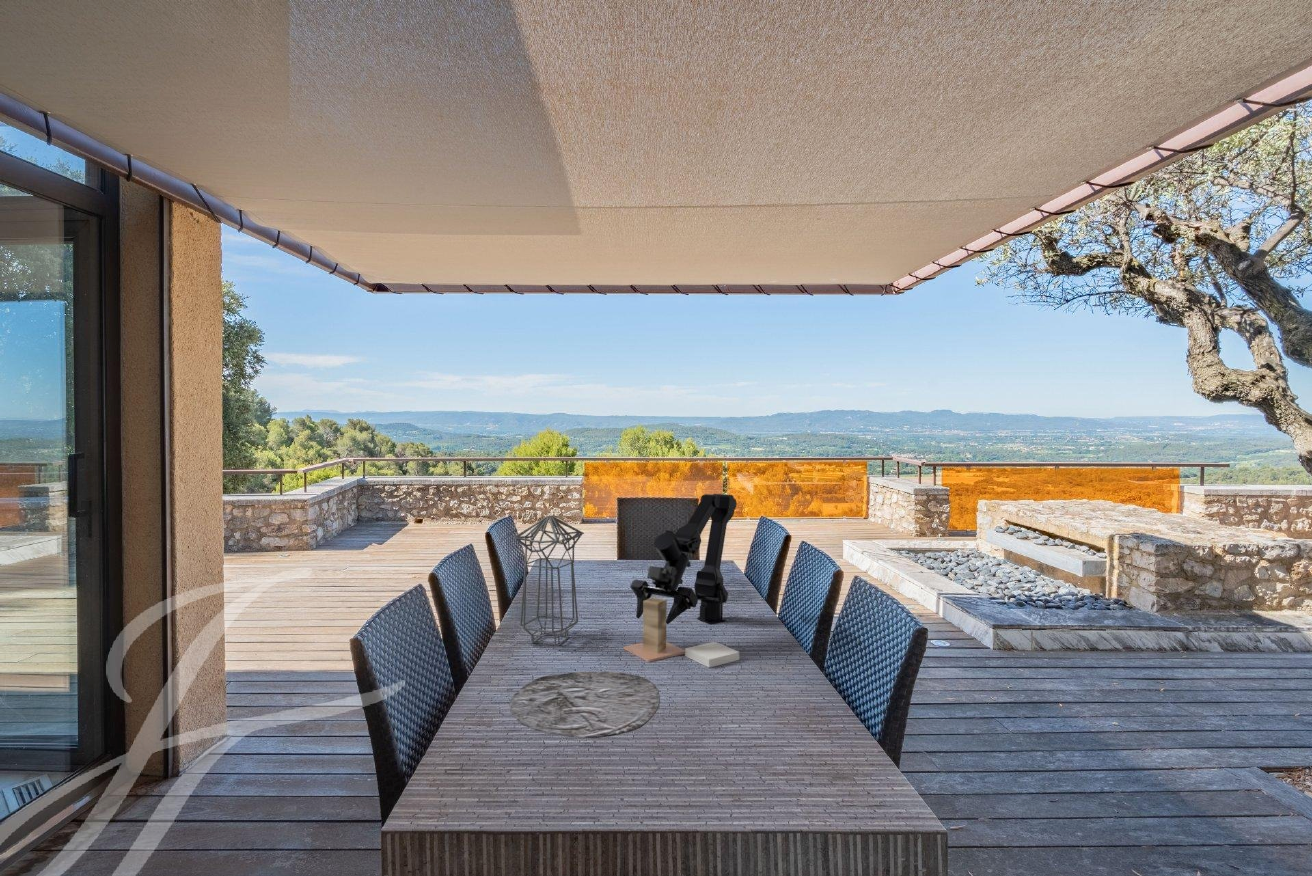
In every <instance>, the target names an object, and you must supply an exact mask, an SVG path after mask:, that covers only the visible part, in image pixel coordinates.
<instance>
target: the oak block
mask: <svg viewBox="0 0 1312 876" xmlns="http://www.w3.org/2000/svg"><path fill="white" fill-rule="evenodd" d="M667 607H668V605H667V599H664V598H659V597H652V596H651V598H649V599H647V600H645V601H643V614H642V615H643V616H642V618H643V619H642V643H643V650H647V651H651V652H656V653H658V652H660V651H662V650H664V649H665V648H666V642H667V623H666V620H667V616H668V615H667V612H668V611H667Z"/></svg>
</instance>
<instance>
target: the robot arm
mask: <svg viewBox="0 0 1312 876" xmlns="http://www.w3.org/2000/svg"><path fill="white" fill-rule="evenodd" d="M736 508H737V499H736V498H735V497H734V495H733V494H724V493H713V494H711V493H710V494H709V493H705V494H703V495H701V496H700V501H699V503H698V505H697V507H696V508H695V509H694V511H693V513H692V515H691V516H690V518H689V519H688V521H687V523H686V524H685V525H683V526H681V527H679V528H678V529H677V530H676V531H675V532H674V531H673V530H668V529H667V530H665V532H664V533H661V534H660V535H658V536H657V537H655V539H654V543H653V544H654V545H653V546H654V547H655V549H656V550H657V552H658V554H659V555H660V557H661V558H662V560H663V561H664V562H665V563H664V566H663V567H661V566H652V565H651V566H649V567H648V572H647V577H646V578H647V579H650V580H652V581H651V582H652V585H654V586H650V584H649V583H648V582H647V580H641V579H634V580H632V582H631V584H630V589H631V590H632V592H633V593H634V595H635V596H636V615H635V617H636V618H637V619H640V618H641V617H642V615H643V601H645V600H647V599H650V598H652V595H655V596H660V597H666V598H672V599H673V602H672V605H671V606H670V607H671V608H670V610H669V612H668V615H666V625H669V624H671V623H672V622H673V621H675V619H677V617H679V616H680V615H681V614H683V613H684V612H686V611H687V610H691V609H692V608H696V607H697V604H698V601H700V605H699V616H697V618H696V619H697V620H699V621H702V622H705V623H707V624H710V625H713V624H716V623H717V624H718V623H721V622H726V621H727V619H726V618H725V617H724V615H723V613H724V612H723V611H724V609H723V608H724V607H723V606H724V604H726V603H727V601H728V598H729V592H728V591H727V590H726V587H725V586H724V580H725V579H724V577H723V574H722V572H721V564H722V557H723V551H724V545H725V538H726V533H727V532H726V531H727V526H728V523H729V522H730V520H731V519H732V518H733V517H734V515H735V510H736ZM709 520H711V522H710V527H709V535H708V541H707V547H706V554H705V558H704V559H705V560H704V566H703V567H702V568H701V570H697V571H696V575H695V576H696V577H695V581H694V587H693V588H694V590H693V588H692V587H687V586H680V585H683V582H684V580H683V579H682V578H683V575H684V573H685V571H686V569H687V568H691V562H690V557H689V556H687V554H688V555H689V554H690V555H694V554H696V553H697V552H698V551H699V549H700V547H701V544H702V537H701V535H702V532H704V529H705V527H706V525H707V524H708V523H709Z"/></svg>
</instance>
